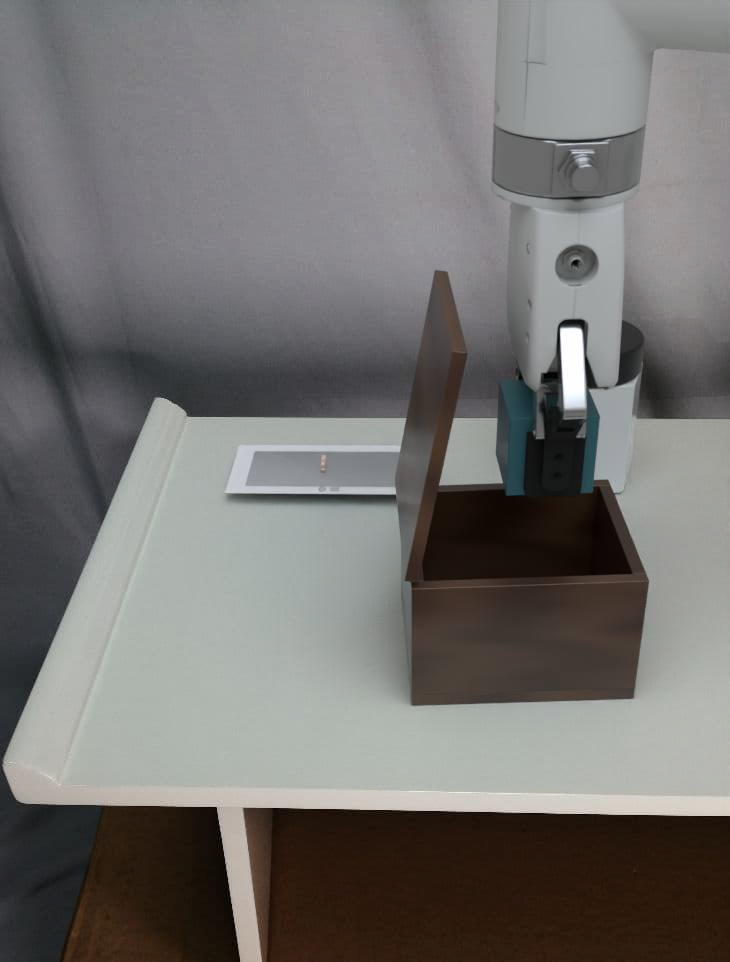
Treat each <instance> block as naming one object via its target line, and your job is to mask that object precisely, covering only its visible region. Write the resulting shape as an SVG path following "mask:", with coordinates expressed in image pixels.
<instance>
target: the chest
mask: <svg viewBox="0 0 730 962" xmlns="http://www.w3.org/2000/svg"><path fill="white" fill-rule="evenodd" d="M649 579H650V578H649V577H648V575H647V572H646V570H645V567H644V564H643V562H642V560H641V557H640V555H639V553H638V549H637V547H636V545H635V542H634V539H633V537H632V535H631V532H630V530H629V527H628V525H627V522H626V520H625V517H624V515H623V511H622V510H621V507H620V504H619V502H618V499H617V497H616V495H615V493H614V492H613V490H612V487H611V485H610V482H609V480H608V479H604V480H594V483H593V492H592V493H580V494H579V495H577V496H575V497H548V498H528V497H527V496H526V495H512V496H506V493H505V489H504V485H503V482H498V483H497V482H496V483H495V482H494V483H493V482H492V483H467V484H466V483H465V484H442V485H441V484H439V488H438V493H437V497H436V502H435V506H434V511H433V516H432V520H431V525H430V530H429V534H428V539H427V543H426V548H425V553H424V557H423V562H422V566H421V571H420V576H419V580H418V582H417V583H416V582H407V581H405V579H404V569H403V559H402V549H401V548H400V596H401V607H402V618H403V629H404V639H405V651H406V663H407V671H408V682H409V692H410V694H409V695H410V703H411V706H429V705H431V706H432V705H457V704H458V705H461V704H489V703H490V704H491V703H493V704H494V703H519V702H520V703H521V702H522V703H523V702H555V701H556V702H557V701H583V700H584V701H585V700H587V701H588V700H590V701H591V700H618V699H620V700H621V699H622V700H623V699H634V697H635V691H636V684H637V675H638V668H639V661H640V654H641V646H642V639H643V632H644V625H645V624H644V623H645V616H646V609H647V603H648V602H647V601H648V593H649V586H650V580H649Z"/></svg>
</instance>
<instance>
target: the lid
mask: <svg viewBox="0 0 730 962" xmlns="http://www.w3.org/2000/svg"><path fill="white" fill-rule="evenodd" d="M456 304H457V303H456V300H455V296H454V292H453V289H452V283H451V279H450V276H449V271H446V270H438V269H435V270H434V272H433V278H432V282H431V288H430V293H429V298H428V304H427V307H426V308H427V309H426V314H425V319H424V323H423V324H424V325H423V329H422V335H421V340H420V345H419V350H418V356H417V361H416V366H415V371H414V375H413V380H412V381H413V382H412V387H411V392H410V397H409V402H408V407H407V412H406V418H405V424H404V428H403V433H402V439H401V442H400V443H401V444H400V446H401V449H400V454H399V459H398V464H397V469H396V475H395V488H396V495H395V496H396V497H395V498H396V507H397V518H398V527H399V528H398V529H399V538H400V550H401V549H402V559H403V569H404V579H405V581H407V582H416V583H417V582H418V580H419V576H420V571H421V566H422V562H423V557H424V553H425V548H426V543H427V539H428V534H429V530H430V525H431V520H432V516H433V511H434V506H435V502H436V497H437V493H438V488H439V485H440V483H441V479H442V475H443V469H444V464H445V460H446V454H447V451H448V446H449V441H450V436H451V432H452V427H453V423H454V418H455V413H456V409H457V405H458V400H459V395H460V392H461V386H462V381H463V377H464V371H465V368H466V363H467V359H468V350H467V346H466V341H465V338H464V333H463V329H462V325H461V319H460V317H459V313H458V308H457V305H456Z"/></svg>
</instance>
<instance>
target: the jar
mask: <svg viewBox="0 0 730 962" xmlns="http://www.w3.org/2000/svg"><path fill="white" fill-rule="evenodd" d="M645 340H646V338H645V335H644V333H643V331H642V330H641V329H640V328H639V327H638V326H636V325H634V324H632V323H631V322H628V321H626V320H624V319H622V327H621V343H620V359H619V374H618V381H617V383H616V384H615V386H614V387H613V388H611V389H610V390H605V389H604V388H603V387H597V385H596V383H595V380H594V378H593V376H592V374H591V371H590V369H589V367H588V380H587V386H588V389H589V391H590V394H591V396H592V398H593V401H594V403H595V405H596V408H597V410H598V412H599V415H600V423H599V433H598V443H597V453H596V463H595V473H594V480H604V479H608V480H609V482H610V485H611V487H612V490H613V492H614V494H620V493H622V492H623V491H624V489H625V485H626V482H627V479H628V475H629V472H630V469H631V466H632V462H633V461H632V460H633V451H634V443H635V434H636V426H637V416H638V409H639V400H640V393H641V383H642V382H641V381H642V374H643V366H644V360H643V359H644V352H645V351H644V350H645V342H646V341H645Z"/></svg>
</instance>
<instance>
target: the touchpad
mask: <svg viewBox="0 0 730 962" xmlns="http://www.w3.org/2000/svg"><path fill="white" fill-rule="evenodd" d="M400 449H401V445H385V444H383V445H380V444H379V445H378V444H377V445H372V444H371V445H365V444H361V445H359V444H357V445H355V444H353V445H352V444H351V445H346V444H345V445H339V444H338V445H336V444H334V445H333V444H328V445H325V444H317V445H316V444H239V445H238V448H237V451H236V454H235V458H234V461H233V464H232V467H231V470H230V474H229V477H228V480H227V483H226V487H225V490H224V494H253V495H254V494H257V495H259V494H260V495H262V494H263V495H265V494H266V495H269V494H270V495H271V494H273V495H277V494H278V495H283V494H284V495H391V496H392V495H394V496H396V488H395V475H396V469H397V464H398V459H399V454H400Z"/></svg>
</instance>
